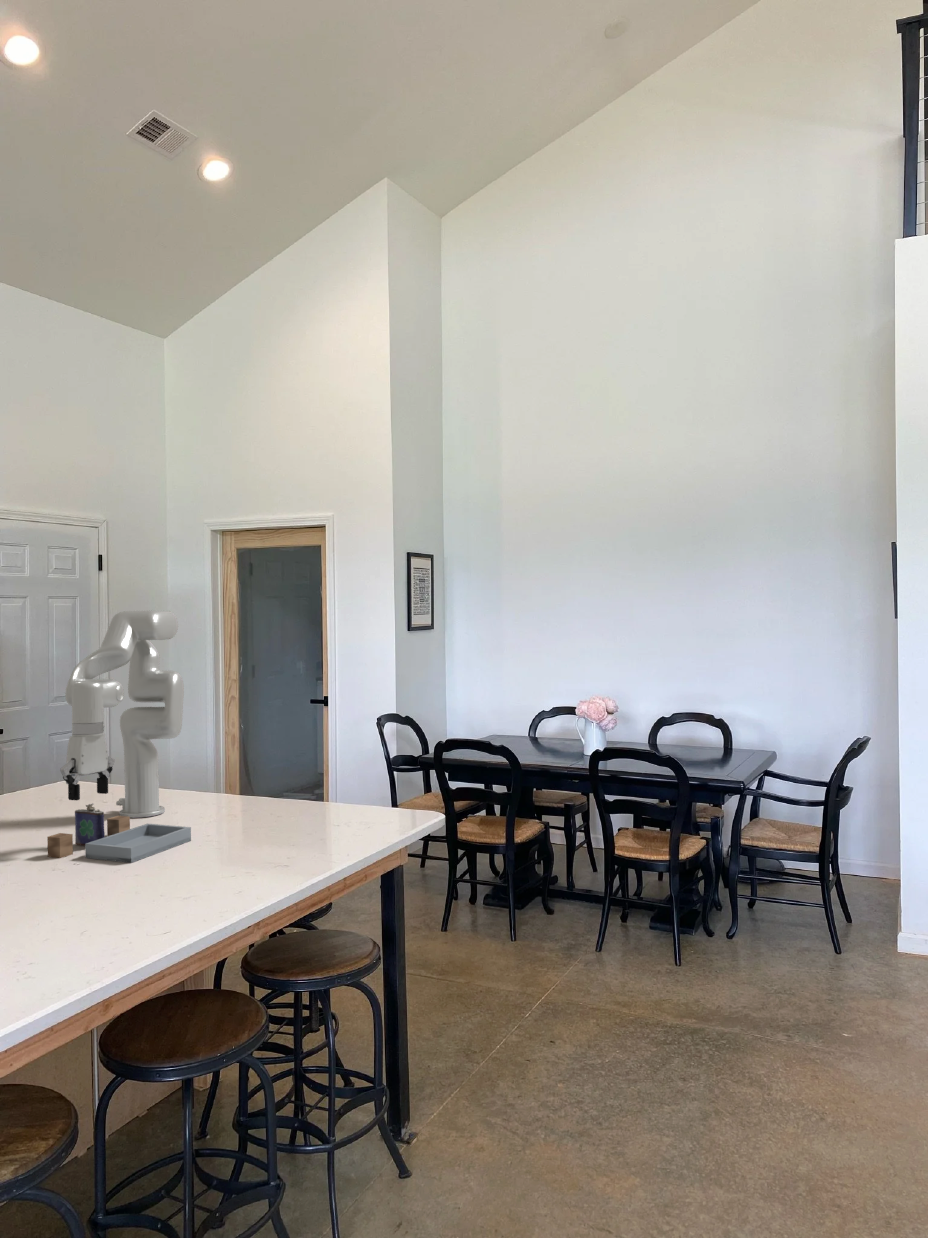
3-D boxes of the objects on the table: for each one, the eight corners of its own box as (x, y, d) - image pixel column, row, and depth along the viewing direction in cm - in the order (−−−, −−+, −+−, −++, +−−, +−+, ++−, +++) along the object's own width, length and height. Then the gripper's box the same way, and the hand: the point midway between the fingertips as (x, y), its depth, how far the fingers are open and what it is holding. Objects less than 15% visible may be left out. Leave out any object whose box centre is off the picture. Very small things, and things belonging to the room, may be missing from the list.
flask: (73, 845, 235) (72, 803, 235) (82, 842, 238) (81, 801, 238) (99, 848, 231) (99, 806, 231) (108, 845, 234) (108, 804, 234)
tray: (85, 858, 222) (85, 843, 222) (147, 836, 243) (147, 823, 243) (131, 863, 217) (130, 848, 217) (191, 840, 238) (190, 827, 238)
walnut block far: (107, 837, 243) (106, 818, 243) (118, 834, 246) (117, 815, 246) (119, 838, 241) (118, 820, 241) (130, 835, 245) (129, 816, 245)
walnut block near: (47, 857, 224) (47, 836, 224) (60, 852, 228) (60, 833, 228) (60, 858, 223) (59, 838, 223) (72, 854, 226) (72, 834, 226)
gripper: (101, 726, 243) (102, 790, 243) (50, 732, 227) (50, 801, 227) (123, 726, 241) (124, 791, 240) (73, 733, 225) (74, 803, 224)
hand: (88, 796), depth 234 cm, fingers open, 9 cm apart
